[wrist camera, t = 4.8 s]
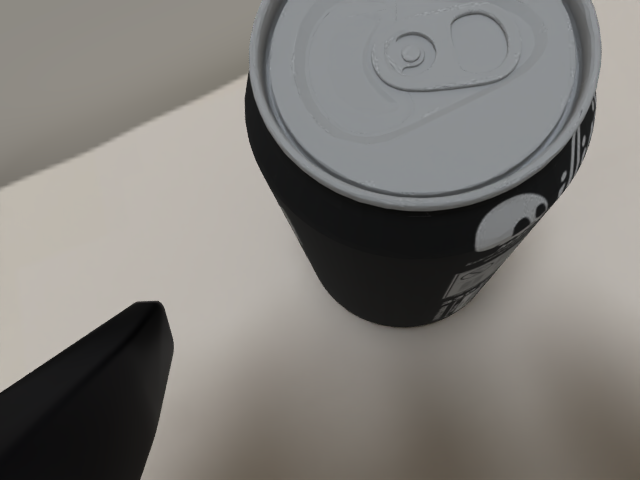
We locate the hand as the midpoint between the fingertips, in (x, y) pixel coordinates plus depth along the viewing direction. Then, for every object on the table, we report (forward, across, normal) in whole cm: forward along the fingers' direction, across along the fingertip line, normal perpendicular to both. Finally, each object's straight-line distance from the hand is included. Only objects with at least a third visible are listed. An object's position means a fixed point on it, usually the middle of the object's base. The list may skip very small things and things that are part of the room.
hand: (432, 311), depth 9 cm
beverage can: (+11, 0, +5) cm, 12 cm away
